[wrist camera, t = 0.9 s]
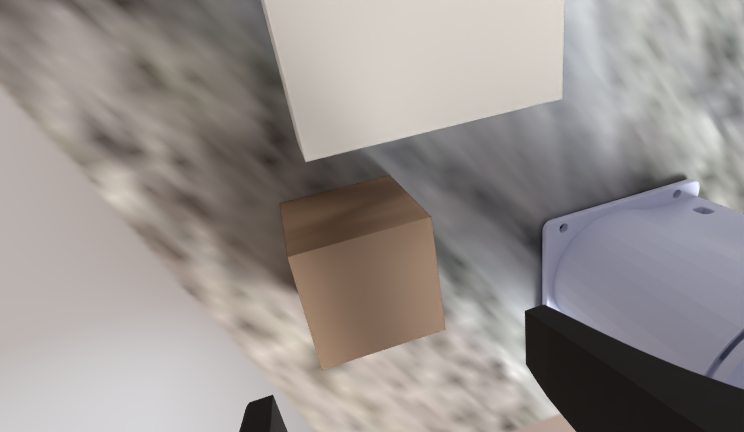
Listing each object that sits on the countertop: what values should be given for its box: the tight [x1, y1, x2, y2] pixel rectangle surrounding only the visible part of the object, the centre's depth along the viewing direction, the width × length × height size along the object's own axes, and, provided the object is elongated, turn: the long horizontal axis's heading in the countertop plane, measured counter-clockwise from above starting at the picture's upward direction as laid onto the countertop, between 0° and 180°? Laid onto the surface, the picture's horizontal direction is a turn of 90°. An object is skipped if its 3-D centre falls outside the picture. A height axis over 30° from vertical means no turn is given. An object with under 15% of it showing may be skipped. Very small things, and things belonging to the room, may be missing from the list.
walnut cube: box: [280, 175, 446, 370], centre depth 17 cm, size 5×5×5 cm
